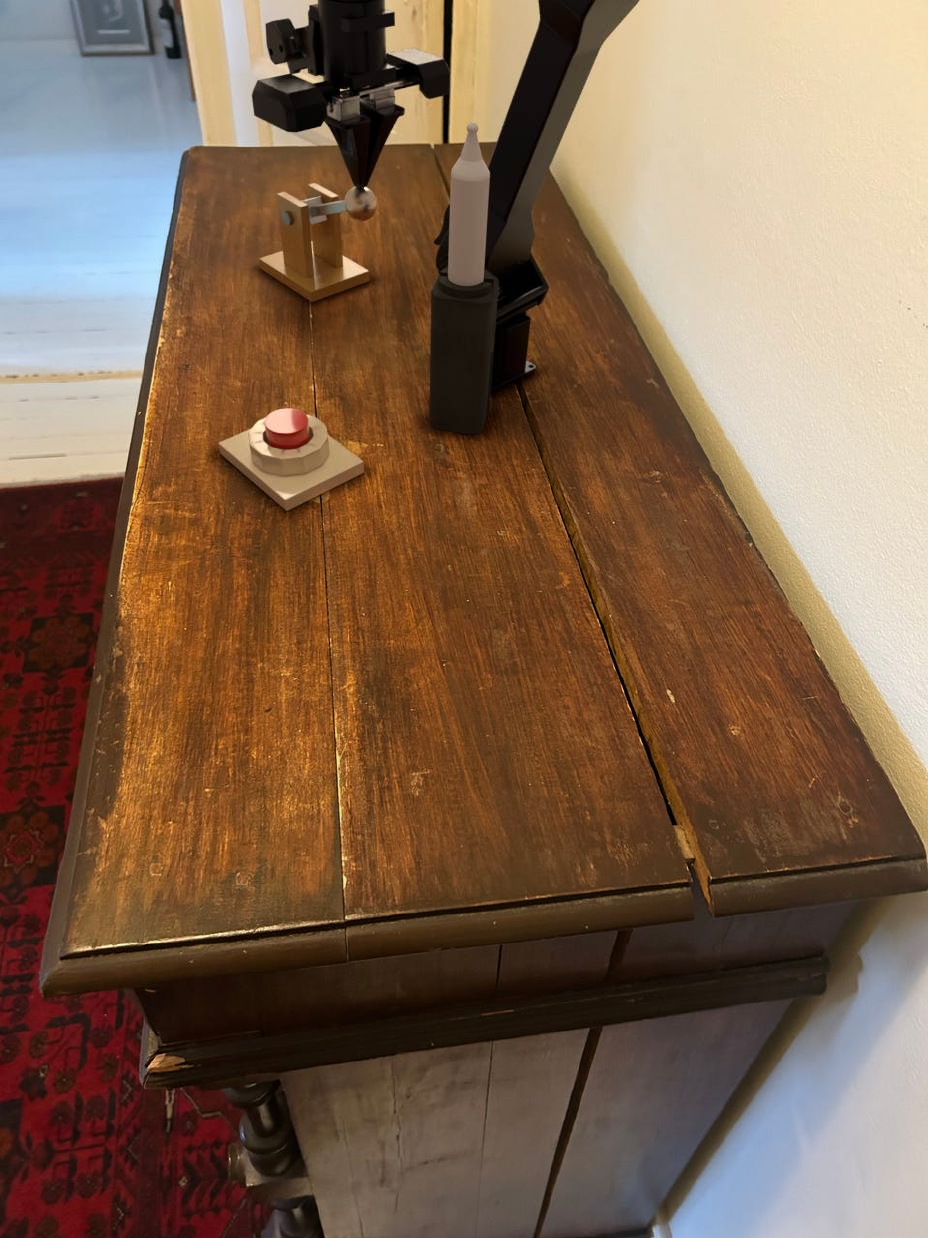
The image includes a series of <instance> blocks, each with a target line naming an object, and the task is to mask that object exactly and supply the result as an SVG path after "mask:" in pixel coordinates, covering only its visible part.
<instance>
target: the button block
mask: <svg viewBox="0 0 928 1238" xmlns="http://www.w3.org/2000/svg"><path fill="white" fill-rule="evenodd" d="M306 415H307V417H308V421H309V430H310V440H309V442H308V443H307V444H306V445H304V446H302V447H300V448H298V449H289V450H282V449H278V448H273V447H271V446H270V445H269V444H268V442H267V437H266V431H265V424H264V421H265V418H266V417H264V418H261V419H259V420H257V421H256V422H255V424H254V425H253V426H252V427H251V428H249V429H246V430H245V431H242V432H239V433H238V434H235V435H233V436H231V437H228V438H226V439H224V440H222V441H219V442H217V443H218V449H219V453H220V455H221V456H222V457H223V458H224V459H226V460H227V461H228V462H229V463H231V464H232V466H234V467H235V468H236V469H237V470H239V472H241V473H242V474H243V475H244V476H245V477H247V478H248V479H249V480H250V481H251V482H253V483H254V484H255V485H256V486H257V487H258V488H259V489H260V490H262V491H263V492H264V493H265V494H266V495H267V496H268V497H269V498H271V499H272V500H274V502H275V503H277V504H278V505H279V506H280V507H281V508H282V509H284V511H286V512H288V511H290V510H292V509H294V508H296V507H299V506H300V505H302V504H304V503H306V502H307V501H308V502H309V501H310V500H312V499H315V498H316V497H318V496H320V495H322V494H324V493H326V492H329V491H331V490H332V489H334V488H337V487H338V486H341V485H342V484H344V483H347V482H348V481H350V480H352V479H354V478H357V477H358V476H360V475H362V474H364V473H365V463H364V460H363V459H361V458H360V457H358V456H356V454H354V453H353V452H352V451H350V450H349V449H348V448H346V447H345V446H344V445H343V444H341V443H340V442H338V440H336V439H335V438H333V437H332V436H331V435H329V434H328V429H327V425H326V423H323V421H321V420H320V419H318V418H317V417H316V416H314V415H312V414H311V415H310V414H306Z"/></svg>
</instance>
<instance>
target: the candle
mask: <svg viewBox="0 0 928 1238" xmlns="http://www.w3.org/2000/svg"><path fill="white" fill-rule="evenodd" d="M466 131H467V134H466V137H465V141H464V144H463V148H462V150H461V153H460V157H459V158H458V160H457V161H456V162H455V163H454V165H453V167H452V168H451V172H450V192H449V193H450V194H449V195H450V196H449V204H450V225H449V259H448V267H447V268H444V269H443V270H441V271H440V274H439V273H438V275H437V278H436V280H435V282H434V284H433V285H432V288H431V291H430V336H429V337H430V338H429V339H430V343H429V344H430V345H429V347H430V352H429V413H428V414H429V415H428V423H429V425H430V426H431V427H432V428H433V429H435V430H439V431H445V432H452V433H456V434H457V433H458V434H465V435H478V434H479V433H482V432H483V431H484V429H485V420H486V417H487V414H489V413H490V407H491V395H492V394H491V393H492V392H491V381H492V367H493V354H494V340H495V327H496V313H497V300H498V286H499V281H498V279H497V278H496V277H495V276H493V275H492V274H491V273H490V272H489V271H487V270H486V269H484V263H485V247H486V230H487V214H488V197H489V181H490V172H489V170H488V165H487V163H486V162H485V160H484V158H483V156H482V152H481V147H480V146H481V145H480V143H479V137H478V131H479V125H478V123H476V121H469V122H468V123H467V125H466Z"/></svg>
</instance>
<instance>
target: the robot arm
mask: <svg viewBox="0 0 928 1238" xmlns="http://www.w3.org/2000/svg"><path fill="white" fill-rule="evenodd" d="M537 2H538V10H539V21H538V24H537V25H538V26H537V29H536V31H535V34H534V38H533V40H532V43H531V45H530V49H529V51H528V54H527V55H526V56H527V57H526V59H525V62H524V64H523V67H522V71H521V74H520V76H519V78H518V82H517V85H516V87H515V90H514V93H513V95H512V99H511V101H510V103H509V107H508V109H507V112H506V115H505V118H504V120H503V124H502V126H501V129H500V132H499V135H498V137H497V140H496V143H495V145H494V148H493V151H492V154H491V156H490V159H489V162H488V164H487V168H488V170H489V172H490V181H489V197H488V214H487V230H486V247H485V263H484V269H486V270H487V271H489V272H490V273H491V274H492V275H493V276H495V277H496V278H497V279H498V281H499V286H498V300H497V313H496V327H495V340H494V354H493V367H492V381H491V393H495V392H497V391H499V390H501V389H503V388H505V387H507V386H509V385H511V384H513V383H515V382H517V381H520V380H521V379H524V378H526V377H528V376H530V375H532V374H534V373H535V372H536V370H537V366H536V364H535V363H533V362H531V361H529V360H528V359H527V358H528V350H529V349H528V348H529V339H530V331H531V322H532V321H531V319H532V317H530V316H528V315H527V312H528V311H529V310H531V309H532V308H535V307H536V306H540V305H542V304H543V302H544V301H545V299H546V296H547V294H548V293H549V289H550V286H549V284H548V282H547V279H546V278H545V276H544V274H543V272H542V271H541V268H540V267H539V265H538V263H537V261H536V259H535V257H534V255H533V254H532V249H533V244H534V241H535V237H536V230H535V222H534V217H533V208H534V206H535V203H536V200H537V198H538V196H539V193H540V192H541V191H540V190H541V188H542V187H543V184H544V181H545V180H546V177H547V175H548V172H549V170H550V167H551V165H552V162H553V161H554V158H555V155H556V154H557V151H558V149H559V146H560V144H561V142H562V140H563V137H564V135H565V132H566V131H567V127H568V125H569V123H570V121H571V118H572V116H573V113H574V112H575V109H576V107H577V105H578V102H579V99H580V98H581V95H582V93H583V90H584V88H585V85H586V83H587V80H588V77H589V76H590V74H591V71H592V69H593V66H594V64H595V62H596V59H597V57H598V55H599V52H600V50H601V48H602V46H603V45H604V43H605V42H606V40H607V39H608V38H609V37H610V36H611V35H612V33H613V32H614V31H615V30H616V29H617V28H618V26H619V25H620V24H621V23H622V22H623V21H624V20H625V19H626V17H627V16H628V15H629V14H630V13H631V12H632V10H634V8H635V7H636V6H637V5H638V3H639V2H640V0H537ZM307 20H308V23H307V25H305V26H301V27H297V28H296V27H295V26H294V24H293V21H292V20H291V18H288V17H287V18H281V19H276V20H270V21H269V22H266V23H265V43H266V49H267V51H268V55H269V60H270V61H271V62H272V63H273V64H274V65H275V66H277V65H282V64H287V68H288V71H289V73H286V74H282V75H277V76H271V77H268V78H267V77H266V78H262V79H258V80H257V81H256V83H255V85H254V87H253V89H252V93H251V101H252V108H253V116H254V117H256V118H258V119H260V120H262V121H264V122H266V123H268V124H270V125H272V126H274V127H276V128H278V129H280V130H283V131H284V132H286V133H300V132H304V131H309V130H312V129H317V128H320V127H322V126H323V124H326V126H327V128H328V129H329V130H330V132H331V134H332V137H333V138H334V140H335V142H336V145H337V146H338V149H339V151H340V154H341V157H342V159H343V162H344V165H345V166H346V169H347V171H348V174H349V177H350V179H351V180H350V181H351V182H352V184H353V187H357V188H359V189H361V188H365V187H367V188H368V185H369V182H370V180H371V178H372V176H373V173H374V170H375V168H376V165H377V163H378V162H379V159H380V155H381V154H382V151H383V149H384V147H385V145H386V143H387V141H388V139H389V137H390V135H391V133H392V131H393V129H394V127H395V125H396V124H397V121H398V120H399V118H400V117H403V116H405V112H406V108H405V107H403V106H401V105H399V104H396V95H395V92H396V91H399V90H402V89H407V88H411V87H415V86H418V90H419V92H420V93H421V94H422V95H423V97H424V98H426V99H428V100H433V99H436V98H440V97H444V96H448V95H451V78H452V77H451V70H450V68H449V66H448V64H447V61H446V60H445V58H444V57H441V56H438V55H435V54H432V53H429V52H428V51H424V50H422V49H419V48H416V47H410V48H405V49H404V48H403V49H399V50H396V51H390V52H387V30H386V28H392V27H395V26H396V12H395V11H393V10H390V9H387V8H386V0H317V3H315V4H309V5H308V11H307ZM303 70H307V73H308V74H309V75H312V76H313V77H322V79H323V80H322V81H318V82H311V81H308V80H307V79H304V78H302V77H299V76H297V75H295V74H299V73H301V72H302V71H303ZM449 225H450V203H448V205H447V208H446V210H445V212H444V215H443V220H442V227H441V230H440V232H439V234H438V236H437V237H436V238H435V239H434V240H433V244H434V245H435V246H438V248H437V249H436V255H435V265H436V266H435V267H436V269H437V271H438V275H439V274H440V271H441V270H443V269H444V268H447V267H448V259H449Z"/></svg>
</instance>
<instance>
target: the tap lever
mask: <svg viewBox="0 0 928 1238" xmlns="http://www.w3.org/2000/svg"><path fill="white" fill-rule="evenodd" d="M300 201H302V202H304V203H305V204H307V205H308V210H309V221H310V226H311V225H314V224H317V223H320V222H323V221H327V217H326V215H330V214H336V213H340V214H342V213H347V215H348V216H349V217H350V218H351V219H352V220H355V221H357V222H366V221H368V220H370V219H371V218H372V217H373V216H374V215H375V213H376V211H377V207H378V201H377V197H376V195H375V193H374V192H373V190H371V189H370V188H369V187H368V186H367V187H365V188H361V189H359V188H357V187H355V186H353V187H350V189H349V190H348V191H347V192H346V194H345V197H344V200H339V201H337V202H331V203H325V204H323V203H322V199H321V196H319V197H314V198H309V197H308V198H305V199H302V200H300Z"/></svg>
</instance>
